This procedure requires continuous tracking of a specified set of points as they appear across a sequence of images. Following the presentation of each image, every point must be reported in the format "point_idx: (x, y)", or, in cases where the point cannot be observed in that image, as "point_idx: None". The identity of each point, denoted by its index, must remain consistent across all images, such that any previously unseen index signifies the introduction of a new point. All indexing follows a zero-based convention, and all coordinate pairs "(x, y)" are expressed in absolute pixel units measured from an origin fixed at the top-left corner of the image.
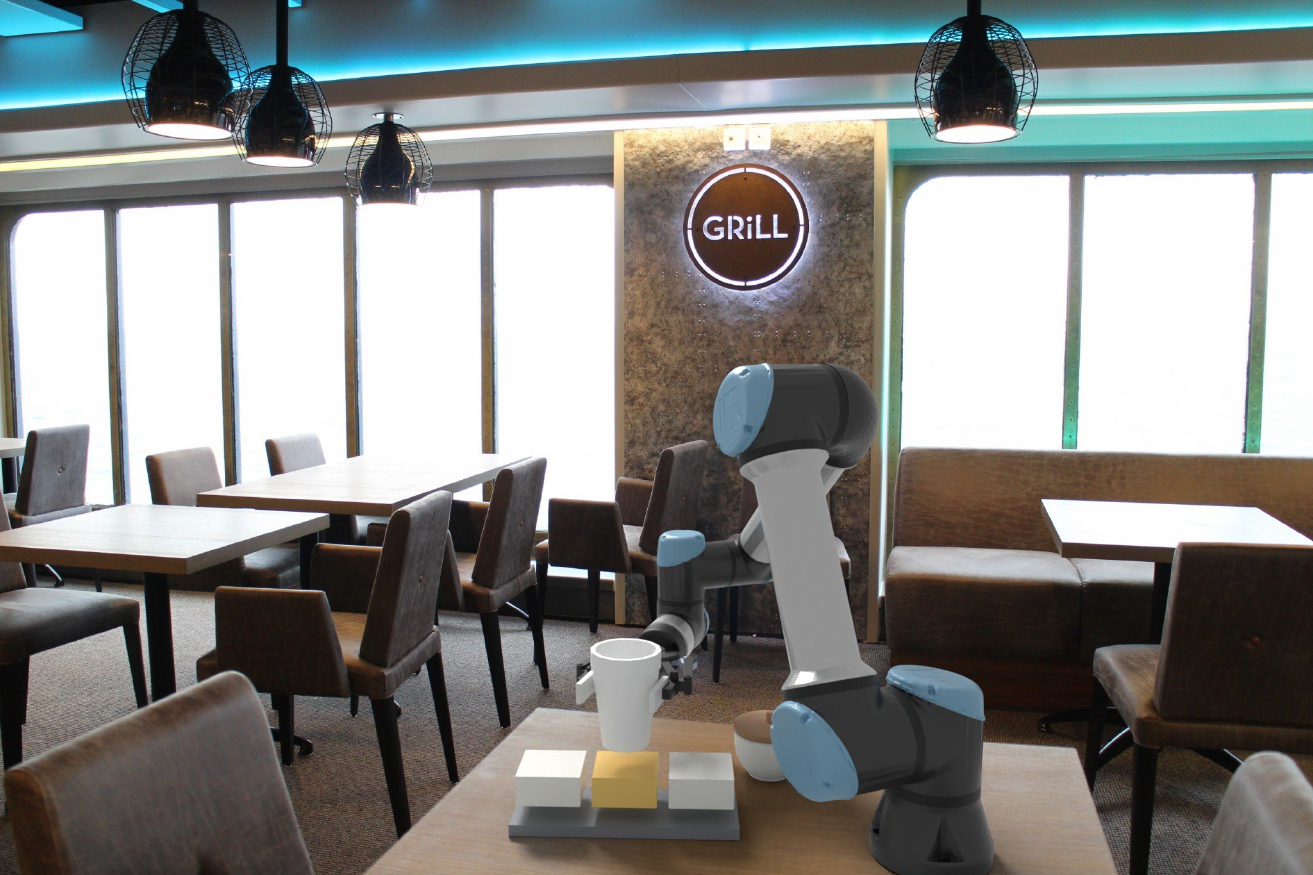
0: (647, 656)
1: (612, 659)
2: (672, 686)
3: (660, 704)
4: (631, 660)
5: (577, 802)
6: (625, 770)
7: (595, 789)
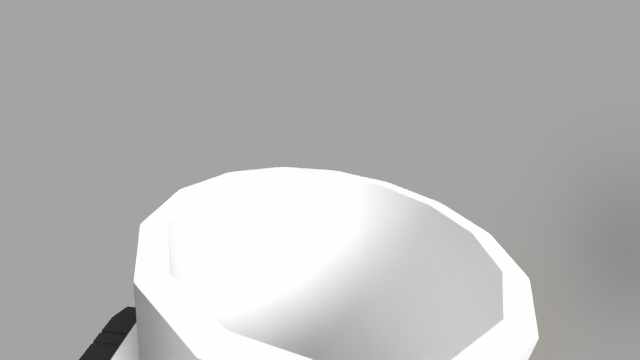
0: (219, 184)
1: (338, 173)
2: (99, 339)
3: None
4: (275, 168)
5: None
6: None
7: None
